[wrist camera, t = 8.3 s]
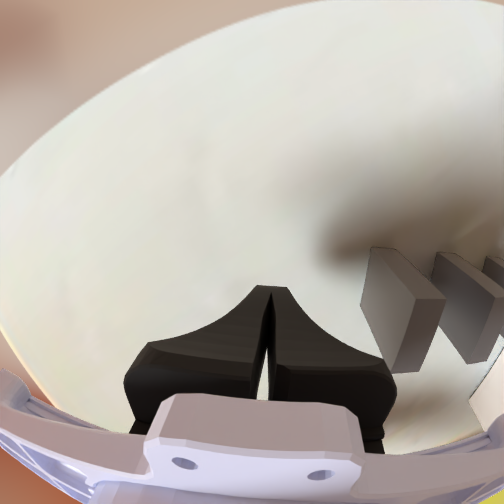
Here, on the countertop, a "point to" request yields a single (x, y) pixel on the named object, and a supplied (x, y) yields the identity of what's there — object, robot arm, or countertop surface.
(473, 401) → the milk carton
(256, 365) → the robot arm
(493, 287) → the domino
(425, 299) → the domino
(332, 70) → the countertop surface
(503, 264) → the domino
